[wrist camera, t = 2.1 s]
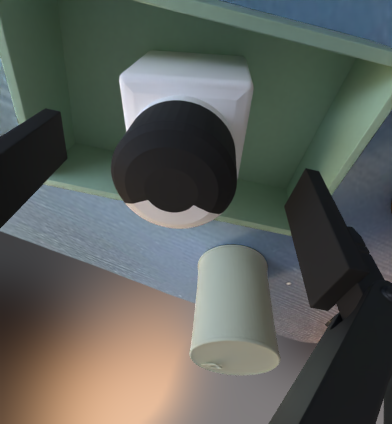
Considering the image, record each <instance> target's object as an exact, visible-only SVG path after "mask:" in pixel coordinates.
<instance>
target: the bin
mask: <svg viewBox="0 0 392 424" xmlns="http://www.w3.org/2000/svg"><path fill="white" fill-rule="evenodd" d="M151 50H156V51H172V52H187V53H202V54H217V55H232V56H243V57H245V58H246V60H247V64H248V68H249V71H250V75H251V79H252V82H253V88H254V90H253V95H252V101H251V107H250V112H249V118H248V124H247V129H246V135H245V141H244V146H243V152H242V157H241V163H240V169H239V174H238V180H237V188H236V192H235V195H234V198H233V200H232V202H231V203H230V205H229V206H228V208H227V209H226V210H225V211H224V212H223V213H222V214H221V215H219V216H218V217H217V218H215V219H213V220H217V221H222V222H227V223H231V224H236V225H241V226H246V227H250V228H255V229H260V230H265V231H270V232H274V233H279V234H284V235H289V236H292V235H291V231H290V227H289V223H288V219H287V215H286V212H285V208H284V206H285V204H286V202H287V200H288V198H289V197H290V195H291V193H292V191H293V190H294V188H295V186H296V184H297V182H298V181H299V179H300V177H301V175H302V173H303V172H304V170H305V168H308V169H312V170H316V171H319V172H320V174H321V176H322V178H323V180H324V182H325V184H326V186H327V188H328V190H329V192H330V194H331V196H332V194H333V193H334V191H335V190H336V189H337V187H338V186H339V184H340V183H341V181H342V180H343V179H344V177H345V176H346V174H347V173H348V171H349V170H350V169H351V167H352V166H353V164H354V163H355V161H356V160H357V159H358V157H359V156H360V154H361V153H362V152H363V150H364V149H365V147H366V146H367V144H368V143H369V142H370V140H371V139H372V137H373V136H374V134H375V133H376V132H377V130H378V129H379V127H380V126H381V124H382V123H383V122H384V120H385V119H386V117H387V116H388V115H389V113H390V112H391V110H392V48H391V47H388V46H385V45H382V44H380V43H377V42H374V41H371V40H367V39H364V38H360V37H356V36H352V35H348V34H345V33H341V32H337V31H333V30H329V29H326V28H322V27H318V26H314V25H310V24H307V23H303V22H299V21H295V20H291V19H288V18H284V17H280V16H276V15H272V14H269V13H265V12H261V11H257V10H253V9H250V8H246V7H242V6H238V5H234V4H231V3H227V2H223V1H219V0H0V57H1V60H2V64H3V68H4V72H5V75H6V79H7V83H8V86H9V90H10V94H11V97H12V101H13V105H14V108H15V112H16V116H17V119H18V123H19V125H20V124H21V123H23V122H24V121H26V120H28V119H29V118H31V117H32V116H34V115H35V114H37V113H39V112H40V111H42V110H43V109H45V108H47V109H51V110H55V111H60V112H61V118H62V125H63V131H64V138H65V144H66V151H67V158H68V159H67V160H66V161H65V162H64V163H63V164H62V165H61V166H60V167H59V168H58V169H57V170H56V171H55V172H54V173H53V174H52V175H51V176H50V177H49V178H48V179H47V181H46V182H45V183H44V185H49V186H54V187H59V188H63V189H68V190H73V191H78V192H83V193H87V194H92V195H97V196H102V197H107V198H111V199H116V200H121V201H123V200H122V198H121V197H120V196H119V194H118V192H117V190H116V188H115V186H114V183H113V180H112V175H111V160H112V156H113V153H114V150H115V148H116V146H117V145H118V143H119V142H120V140H121V139H122V137H123V136H124V134H125V133H126V125H125V118H124V111H123V104H122V97H121V90H120V83H119V77H120V75H121V74H122V73H123V72H124V71H125V70H126V69H128V68H129V67H130V66H131V65H133V64H134V63H135V62H136V61H137V60H139V59H140V58H141V57H142V56H144V55H145V54H146V53H147V52H149V51H151Z"/></svg>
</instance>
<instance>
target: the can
mask: <svg viewBox="0 0 392 424" xmlns="http://www.w3.org/2000/svg"><path fill="white" fill-rule="evenodd" d="M190 358H191V359H192V361H193V362H194V363H195V364H196V365H198V366H200V367H202V368H204V369H207V370H209V371H213V372H217V373H222V374H229V375H254V374H260V373H265V372H268V371H270V370H272V369H274V368H276V367H277V366H278V365H279V363H280V355H279V351H278V345H277V338H276V332H275V325H274V319H273V312H272V305H271V298H270V291H269V283H268V276H267V262H266V260H265V258H264V257H263V256H262V255H261V254H260V253H259V252H257V251H256V250H254V249H252V248H249V247H246V246H242V245H222V246H218V247H215V248H212V249H210V250H208V251H207V252H205V253H204V254H203V255H202V256H201V258H200V260H199V262H198V284H197V294H196V305H195V315H194V325H193V333H192V342H191V350H190Z"/></svg>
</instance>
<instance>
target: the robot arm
mask: <svg viewBox="0 0 392 424" xmlns="http://www.w3.org/2000/svg"><path fill="white" fill-rule="evenodd" d="M67 159H68V158H67V151H66V144H65V138H64V131H63V125H62V118H61V112H60V111H55V110H51V109H47V108H45V109H43V110H42V111H40V112H39V113H37V114H35V115H34V116H32V117H31V118H29V119H28V120H26V121H24V122H23V123H21V124H20V125H18V126H17V127H15V128H13V129H12V130H10V131H9V132H7V133H6V134H4V135H2V136H1V137H0V228H1V227H2V226H3V225H4V224H5V223H6V222H7V221H8V220H9V219H10V218H11V217H12V216H13V215H14V214H15V213H16V212H17V211H18V210H19V209H20V207H21V206H22V205H23V204H24V203H25V202H26V201H27V200H28V199H29V198H30V197H31V196H32V195H33V194H34V193H35V192H36V191H37V190H38V189H39V188H40V187H41V186H42V185H43V184H44V183H45V182H46V181H47V179H48V178H49V177H50V176H51V175H52V174H53V173H54V172H55V171H56V170H57V169H58V168H59V167H60V166H61V165H62V164H63V163H64V162H65V161H66V160H67ZM284 208H285V212H286V215H287V219H288V223H289V227H290V231H291V235H292V238H293V242H294V246H295V250H296V254H297V258H298V261H299V265H300V269H301V273H302V277H303V281H304V284H305V288H306V292H307V296H308V300H309V304H310V307H311V308H316V309H321V310H326V311H328V310H330V309H331V308H332V307H333V306H334V305H335V304H337V307H338V309H339V313H338V314H337V315H336V316H334V317H333V318H332V319H331V320H330V321H329V322H327V323H326V324H325V325H326V326H327V327H328V328H327V329H326V331H325V333H324V334H323V336H322V338H321V339H320V341H319V343H318V344H317V346H316V348H315V349H314V351H313V352H312V354H311V356H310V357H309V359H308V360H307V362H306V364H305V365H304V367H303V369H302V370H301V372H300V374H299V375H298V377H297V378H296V380H295V382H294V383H293V385H292V387H291V388H290V390H289V391H288V393H287V395H286V396H285V398H284V400H283V401H282V403H281V404H280V406H279V408H278V409H277V411H276V413H275V414H274V416H273V417H272V419H271V421H270V422H269V424H376V421H377V417H378V414H379V411H380V408H381V405H382V401H383V399H384V424H392V283H391V282H389V281H385V280H384V278H383V276H382V274H381V273H380V271H379V269H378V267H377V265H376V263H375V261H374V260H373V258H372V256H371V255H370V254H369V253H370V252H369V250H368V249H367V247H365V246H366V245H365V243H364V241H363V239H362V237H361V236H360V235H359V234H358V233H357V232H356V231H355V230H354V229H353V228H352V227H349V226H347V225H346V223H345V221H344V220H343V218H342V216H341V214H340V212H339V210H338V208H337V206H336V204H335V202H334V200H333V198H332V196H331V194H330V192H329V190H328V188H327V186H326V184H325V182H324V180H323V178H322V176H321V174H320V172H319V171H316V170H312V169H308V168H305V170H304V172H303V173H302V175H301V177H300V179H299V181H298V182H297V184H296V186H295V188H294V190H293V191H292V193H291V195H290V197H289V198H288V200H287V202H286V204H285V206H284Z"/></svg>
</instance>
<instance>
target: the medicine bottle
mask: <svg viewBox="0 0 392 424" xmlns="http://www.w3.org/2000/svg"><path fill="white" fill-rule="evenodd" d="M119 83H120V90H121V97H122V104H123V111H124V118H125V125H126V133H125V134H124V136H123V137H122V139H121V140H120V142H119V143H118V145H117V146H116V148H115V150H114V153H113V156H112V160H111V175H112V180H113V183H114V186H115V188H116V190H117V192H118V194H119V196H120V197H121V198H122V200H123V201H124V202H125V204H126V205H127V206H128V207H129V208H130V209H131V210H132V211H133V212H134V213H136V214H137V215H139V216H140V217H141V218H143V219H145V220H147V221H149V222H151V223H154V224H156V225H159V226H163V227H168V228H181V229H183V228H191V227H196V226H200V225H203V224H205V223H207V222H210V221H212V220H213V219H215V218H217V217H218V216H219V215H221V214H222V213H223V212H224V211H225V210H226V209H227V208H228V206H229V205H230V203H231V202H232V200H233V198H234V195H235V192H236V188H237V180H238V174H239V169H240V163H241V157H242V152H243V146H244V141H245V135H246V129H247V124H248V118H249V112H250V107H251V101H252V95H253V90H254V88H253V82H252V79H251V75H250V71H249V68H248V64H247V60H246V58H245V57H243V56H232V55H217V54H202V53H187V52H172V51H156V50H151V51H149V52H147V53H146V54H145V55H144V56H142V57H141V58H140V59H139V60H137V61H136V62H135V63H134V64H133V65H131V66H130V67H129V68H128V69H126V70H125V71H124V72H123V73H122V74H121V75H120V77H119Z"/></svg>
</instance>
